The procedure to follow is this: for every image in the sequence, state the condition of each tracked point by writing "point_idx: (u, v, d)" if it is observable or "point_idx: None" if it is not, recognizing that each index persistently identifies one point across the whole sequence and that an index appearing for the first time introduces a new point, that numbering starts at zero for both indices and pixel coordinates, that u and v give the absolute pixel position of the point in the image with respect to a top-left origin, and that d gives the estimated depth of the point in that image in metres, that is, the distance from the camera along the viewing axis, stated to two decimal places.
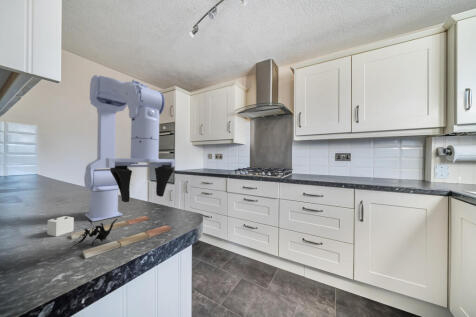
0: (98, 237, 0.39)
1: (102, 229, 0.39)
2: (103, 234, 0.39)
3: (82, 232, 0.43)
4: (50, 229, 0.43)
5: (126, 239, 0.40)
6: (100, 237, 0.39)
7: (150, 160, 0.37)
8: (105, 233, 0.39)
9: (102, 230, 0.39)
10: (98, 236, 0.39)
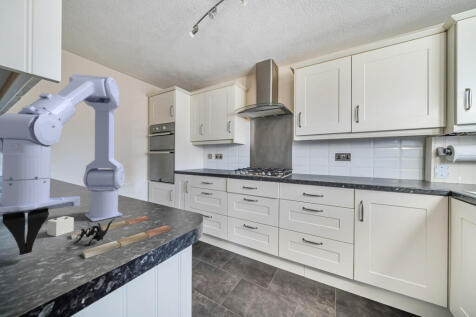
0: (95, 237, 0.39)
1: (99, 229, 0.39)
2: (100, 234, 0.39)
3: None
4: (50, 229, 0.43)
5: (126, 239, 0.40)
6: (97, 237, 0.39)
7: (22, 208, 0.29)
8: (102, 233, 0.39)
9: (99, 230, 0.39)
10: (95, 236, 0.39)
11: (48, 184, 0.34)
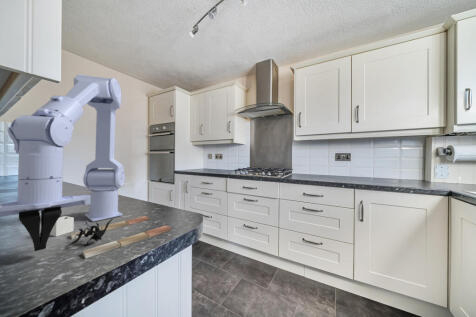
0: (93, 237, 0.39)
1: (97, 229, 0.39)
2: (98, 234, 0.39)
3: None
4: None
5: (126, 239, 0.40)
6: (95, 237, 0.39)
7: (38, 206, 0.31)
8: (100, 233, 0.39)
9: (97, 230, 0.39)
10: (93, 236, 0.39)
11: (61, 183, 0.35)
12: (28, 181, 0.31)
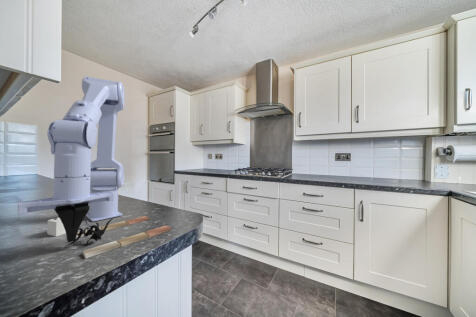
0: (93, 237, 0.39)
1: (97, 229, 0.39)
2: (98, 234, 0.39)
3: None
4: (50, 229, 0.43)
5: (126, 239, 0.40)
6: (95, 237, 0.39)
7: (72, 202, 0.34)
8: (99, 233, 0.39)
9: (97, 230, 0.39)
10: (93, 236, 0.39)
11: (89, 181, 0.38)
12: (63, 179, 0.34)
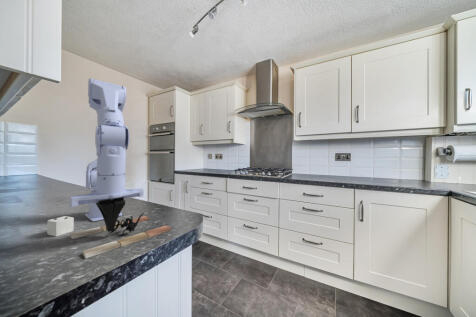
0: (127, 228, 0.44)
1: (130, 221, 0.44)
2: (131, 226, 0.43)
3: (82, 232, 0.43)
4: (50, 229, 0.43)
5: (126, 239, 0.40)
6: (129, 228, 0.44)
7: (113, 196, 0.40)
8: (133, 225, 0.44)
9: (130, 222, 0.44)
10: (127, 227, 0.44)
11: None
12: (106, 177, 0.40)
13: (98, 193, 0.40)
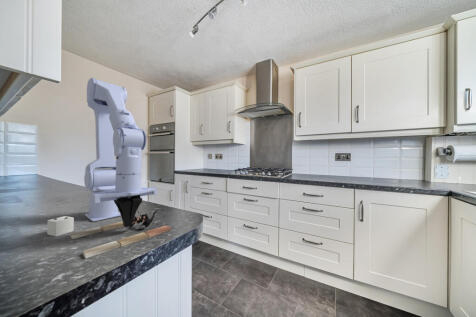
0: (144, 224, 0.47)
1: (146, 217, 0.48)
2: (148, 222, 0.47)
3: (82, 232, 0.43)
4: (50, 229, 0.43)
5: (126, 239, 0.40)
6: (145, 224, 0.47)
7: (132, 194, 0.43)
8: (149, 221, 0.47)
9: (146, 218, 0.48)
10: (144, 223, 0.47)
11: None
12: (124, 176, 0.43)
13: (117, 191, 0.43)
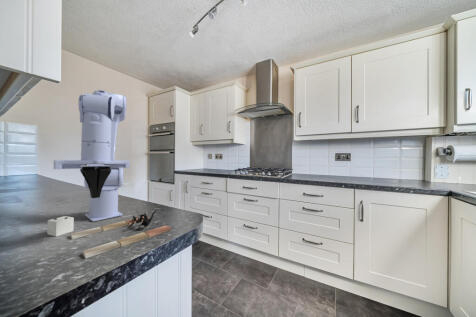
0: (143, 223, 0.47)
1: (146, 217, 0.48)
2: (147, 221, 0.47)
3: (82, 232, 0.43)
4: (50, 229, 0.43)
5: (126, 239, 0.40)
6: (144, 224, 0.47)
7: (97, 162, 0.41)
8: (148, 220, 0.48)
9: (146, 218, 0.48)
10: (143, 223, 0.47)
11: (110, 148, 0.45)
12: (90, 143, 0.41)
13: (82, 159, 0.41)
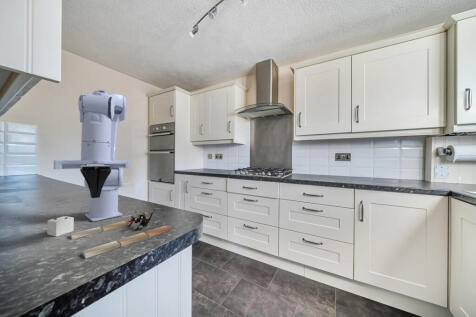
0: (141, 224, 0.47)
1: (144, 217, 0.48)
2: (145, 222, 0.47)
3: (82, 232, 0.43)
4: (50, 229, 0.43)
5: (126, 239, 0.40)
6: (143, 224, 0.47)
7: (97, 162, 0.41)
8: (146, 221, 0.47)
9: (144, 218, 0.48)
10: (141, 223, 0.47)
11: (110, 148, 0.45)
12: (90, 143, 0.41)
13: (82, 159, 0.41)
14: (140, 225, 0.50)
